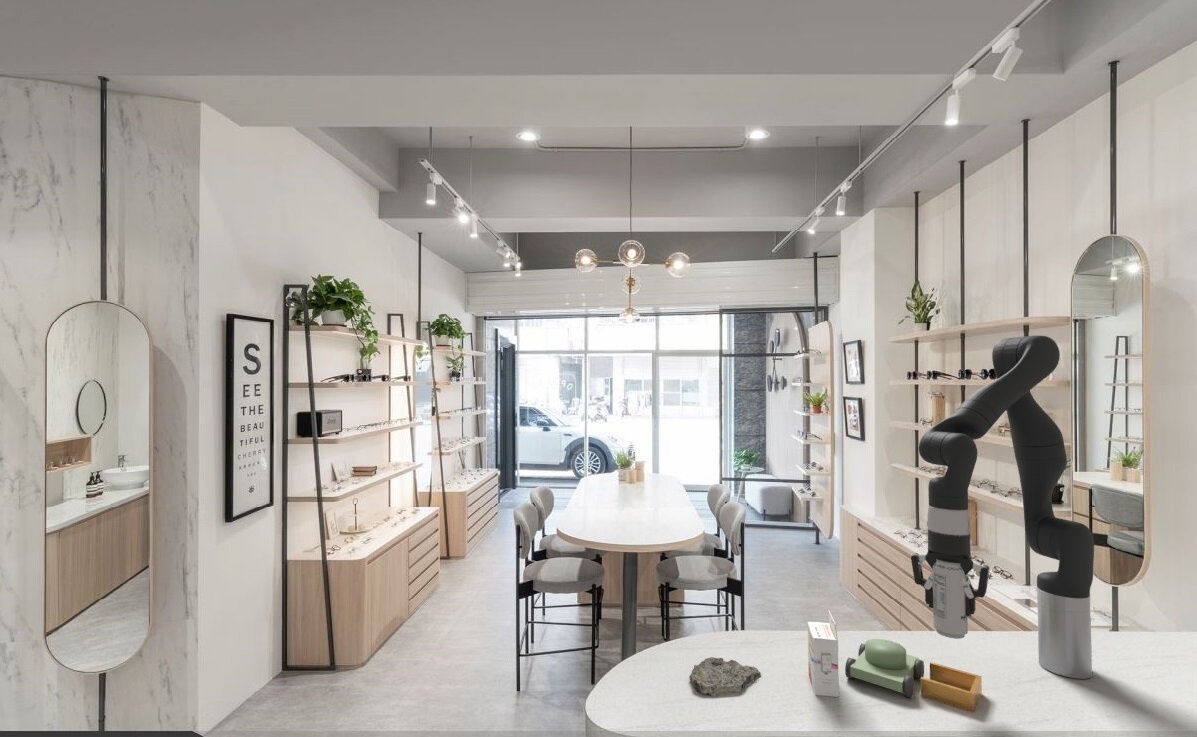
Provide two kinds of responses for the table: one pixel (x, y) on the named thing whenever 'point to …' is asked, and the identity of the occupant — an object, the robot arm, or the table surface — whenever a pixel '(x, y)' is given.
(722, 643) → the table surface
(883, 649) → the green toy car
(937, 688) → the bracket
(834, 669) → the ink cartridge box
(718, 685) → the stone slab
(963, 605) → the energy drink can
